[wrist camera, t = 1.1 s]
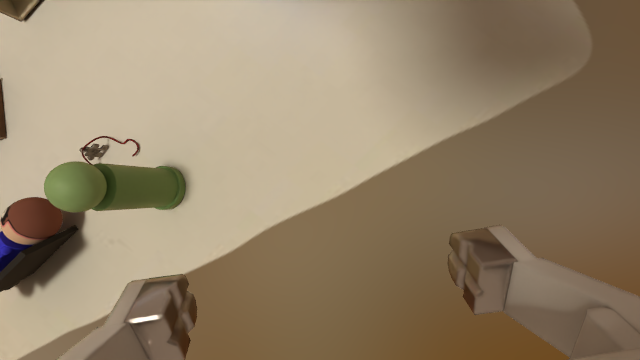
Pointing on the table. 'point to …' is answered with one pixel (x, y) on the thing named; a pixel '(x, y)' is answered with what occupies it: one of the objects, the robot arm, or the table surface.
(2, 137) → the walnut block
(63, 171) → the green toy
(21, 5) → the organizer
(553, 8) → the table surface
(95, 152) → the pendant
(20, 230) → the character figurine
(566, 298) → the robot arm
